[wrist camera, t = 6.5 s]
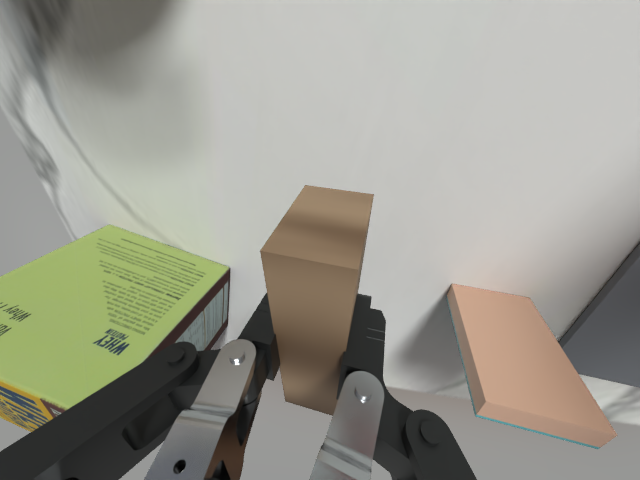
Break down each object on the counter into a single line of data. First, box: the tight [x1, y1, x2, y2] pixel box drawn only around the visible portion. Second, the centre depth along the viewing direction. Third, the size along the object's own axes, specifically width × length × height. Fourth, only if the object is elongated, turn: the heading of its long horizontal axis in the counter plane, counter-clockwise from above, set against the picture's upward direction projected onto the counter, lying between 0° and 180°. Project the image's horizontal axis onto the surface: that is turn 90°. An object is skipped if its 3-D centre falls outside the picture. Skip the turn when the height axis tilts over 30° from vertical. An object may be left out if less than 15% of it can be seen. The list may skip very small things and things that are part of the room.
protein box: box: [0, 225, 230, 432], centre depth 25 cm, size 10×15×16 cm
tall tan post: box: [260, 185, 374, 416], centre depth 13 cm, size 16×6×4 cm, turn 177°
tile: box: [446, 284, 617, 449], centre depth 18 cm, size 2×6×10 cm, turn 87°
